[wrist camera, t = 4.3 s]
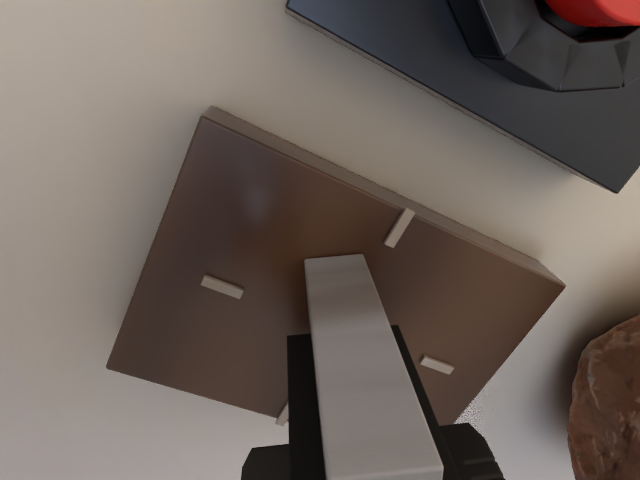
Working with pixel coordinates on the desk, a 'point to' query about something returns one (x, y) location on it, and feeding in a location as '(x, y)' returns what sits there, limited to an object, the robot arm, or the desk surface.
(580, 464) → the decorative rock
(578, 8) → the button
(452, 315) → the panel
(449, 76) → the button block
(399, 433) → the tap handle
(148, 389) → the desk surface
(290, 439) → the robot arm
